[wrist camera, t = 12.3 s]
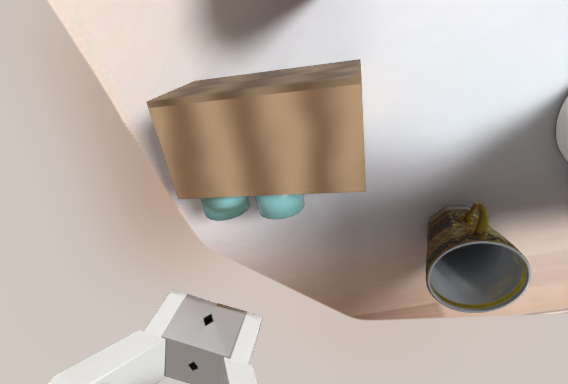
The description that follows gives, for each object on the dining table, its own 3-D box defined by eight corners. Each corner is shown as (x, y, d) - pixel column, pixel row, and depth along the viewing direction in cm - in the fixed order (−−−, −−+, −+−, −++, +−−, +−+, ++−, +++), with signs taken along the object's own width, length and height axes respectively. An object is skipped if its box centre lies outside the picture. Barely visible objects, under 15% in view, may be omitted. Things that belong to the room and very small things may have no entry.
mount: (360, 59, 37) (361, 76, 27) (365, 181, 43) (367, 228, 34) (194, 81, 41) (146, 101, 32) (222, 187, 48) (188, 231, 39)
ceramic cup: (490, 257, 45) (521, 316, 36) (411, 256, 47) (423, 311, 39) (506, 169, 39) (548, 214, 31) (416, 173, 42) (431, 216, 33)
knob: (292, 82, 36) (282, 93, 31) (307, 194, 42) (300, 218, 37) (243, 88, 37) (226, 100, 33) (264, 196, 44) (253, 219, 39)
